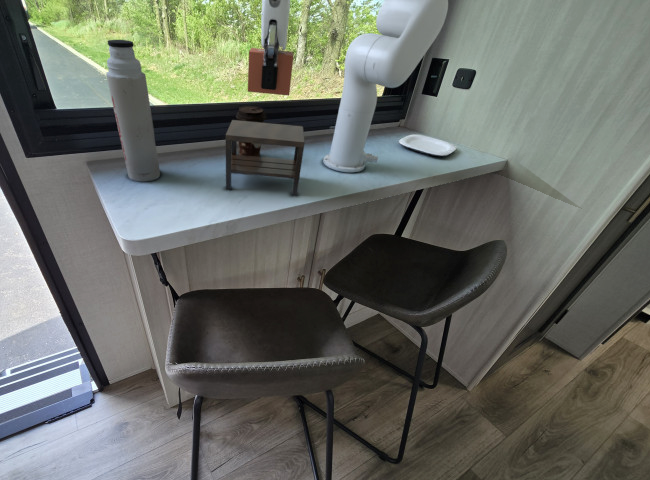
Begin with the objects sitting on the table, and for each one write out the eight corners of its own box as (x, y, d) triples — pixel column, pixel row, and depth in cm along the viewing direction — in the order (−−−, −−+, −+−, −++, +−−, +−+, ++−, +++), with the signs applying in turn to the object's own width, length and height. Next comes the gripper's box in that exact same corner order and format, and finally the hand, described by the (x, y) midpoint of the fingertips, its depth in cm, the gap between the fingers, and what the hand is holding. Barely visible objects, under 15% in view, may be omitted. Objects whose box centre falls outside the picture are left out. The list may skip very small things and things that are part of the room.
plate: (459, 150, 118) (461, 145, 117) (442, 162, 107) (444, 157, 106) (412, 136, 126) (413, 132, 125) (392, 146, 116) (393, 141, 114)
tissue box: (250, 85, 74) (251, 47, 69) (289, 89, 74) (293, 51, 69) (247, 91, 69) (248, 51, 65) (289, 95, 70) (293, 55, 65)
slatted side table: (295, 176, 91) (302, 126, 82) (296, 195, 82) (304, 142, 73) (232, 170, 91) (232, 119, 82) (226, 189, 82) (225, 134, 73)
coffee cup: (265, 152, 102) (268, 107, 94) (262, 162, 96) (265, 114, 87) (237, 150, 103) (238, 103, 94) (233, 159, 97) (233, 111, 88)
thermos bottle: (125, 181, 81) (93, 41, 62) (131, 168, 87) (104, 36, 68) (157, 182, 82) (136, 44, 63) (162, 169, 88) (143, 39, 69)
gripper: (299, -30, 53) (286, 96, 65) (297, -25, 65) (286, 80, 78) (253, -35, 53) (248, 92, 65) (260, -29, 65) (255, 77, 77)
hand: (269, 84), depth 71 cm, fingers closed on tissue box, 6 cm apart
